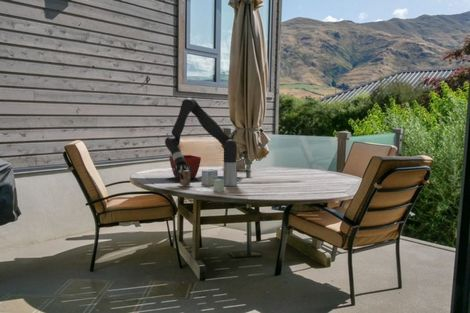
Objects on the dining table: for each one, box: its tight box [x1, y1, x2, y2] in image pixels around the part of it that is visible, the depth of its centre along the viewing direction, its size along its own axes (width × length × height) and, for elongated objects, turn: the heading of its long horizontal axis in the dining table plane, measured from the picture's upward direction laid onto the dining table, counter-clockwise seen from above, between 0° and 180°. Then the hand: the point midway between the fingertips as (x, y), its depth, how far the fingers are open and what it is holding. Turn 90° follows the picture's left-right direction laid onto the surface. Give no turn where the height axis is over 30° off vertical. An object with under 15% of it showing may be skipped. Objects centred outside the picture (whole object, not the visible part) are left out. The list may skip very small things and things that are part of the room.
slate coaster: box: [176, 184, 194, 189], centre depth 301 cm, size 9×9×1 cm
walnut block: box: [179, 170, 191, 186], centre depth 301 cm, size 5×5×10 cm
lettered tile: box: [195, 187, 212, 192], centre depth 291 cm, size 9×9×1 cm
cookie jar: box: [222, 159, 247, 172], centre depth 397 cm, size 25×25×32 cm
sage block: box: [212, 178, 225, 193], centre depth 288 cm, size 5×5×8 cm
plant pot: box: [168, 154, 202, 179], centre depth 342 cm, size 19×19×17 cm
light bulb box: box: [201, 168, 219, 186], centre depth 314 cm, size 11×7×11 cm, turn 141°
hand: (186, 178), depth 299 cm, fingers closed on walnut block, 5 cm apart
